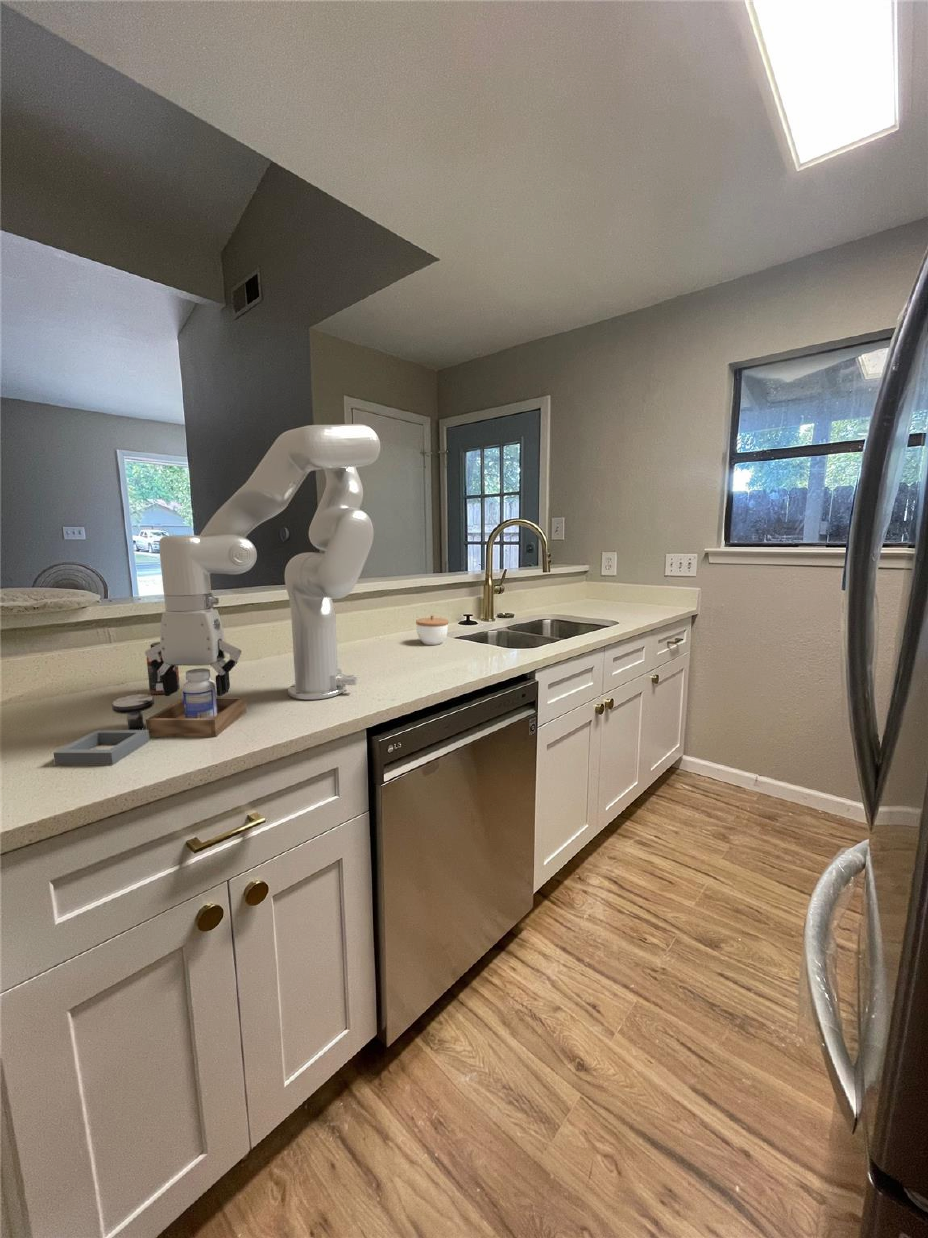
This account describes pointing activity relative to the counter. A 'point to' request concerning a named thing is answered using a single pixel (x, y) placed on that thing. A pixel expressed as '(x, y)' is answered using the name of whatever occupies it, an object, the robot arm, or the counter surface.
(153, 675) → the supplement bottle
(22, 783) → the counter surface
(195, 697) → the pill bottle
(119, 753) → the socket collar
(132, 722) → the metal mushroom knob
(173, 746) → the counter surface
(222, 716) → the tray
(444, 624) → the lidded jar
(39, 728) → the counter surface
